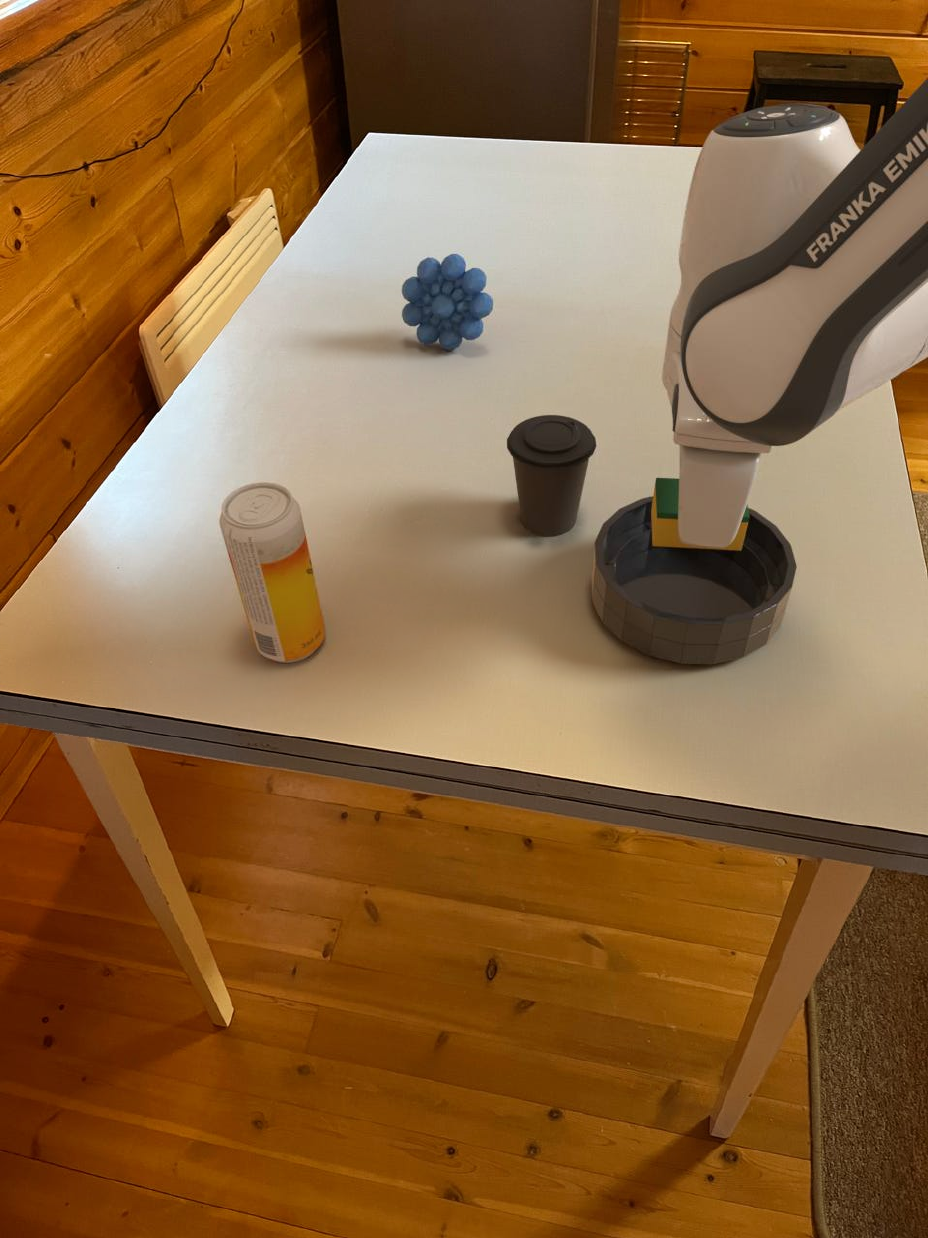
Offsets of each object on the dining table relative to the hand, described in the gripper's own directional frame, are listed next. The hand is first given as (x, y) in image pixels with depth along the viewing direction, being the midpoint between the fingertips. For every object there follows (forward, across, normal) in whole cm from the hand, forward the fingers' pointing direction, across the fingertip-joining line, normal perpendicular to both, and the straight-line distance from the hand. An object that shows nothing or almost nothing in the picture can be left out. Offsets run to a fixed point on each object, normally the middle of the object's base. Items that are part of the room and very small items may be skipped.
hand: (698, 514), depth 75 cm
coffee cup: (+10, -9, -13) cm, 19 cm away
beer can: (+10, +11, -32) cm, 36 cm away
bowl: (+10, 0, 0) cm, 10 cm away
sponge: (+2, 0, 0) cm, 2 cm away
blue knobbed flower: (+10, -40, -30) cm, 51 cm away
